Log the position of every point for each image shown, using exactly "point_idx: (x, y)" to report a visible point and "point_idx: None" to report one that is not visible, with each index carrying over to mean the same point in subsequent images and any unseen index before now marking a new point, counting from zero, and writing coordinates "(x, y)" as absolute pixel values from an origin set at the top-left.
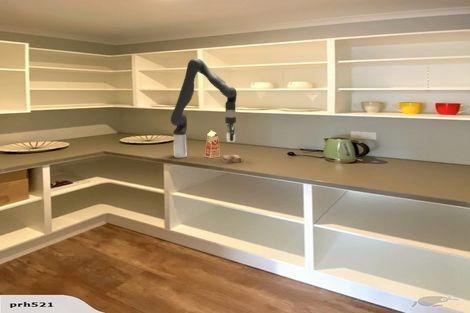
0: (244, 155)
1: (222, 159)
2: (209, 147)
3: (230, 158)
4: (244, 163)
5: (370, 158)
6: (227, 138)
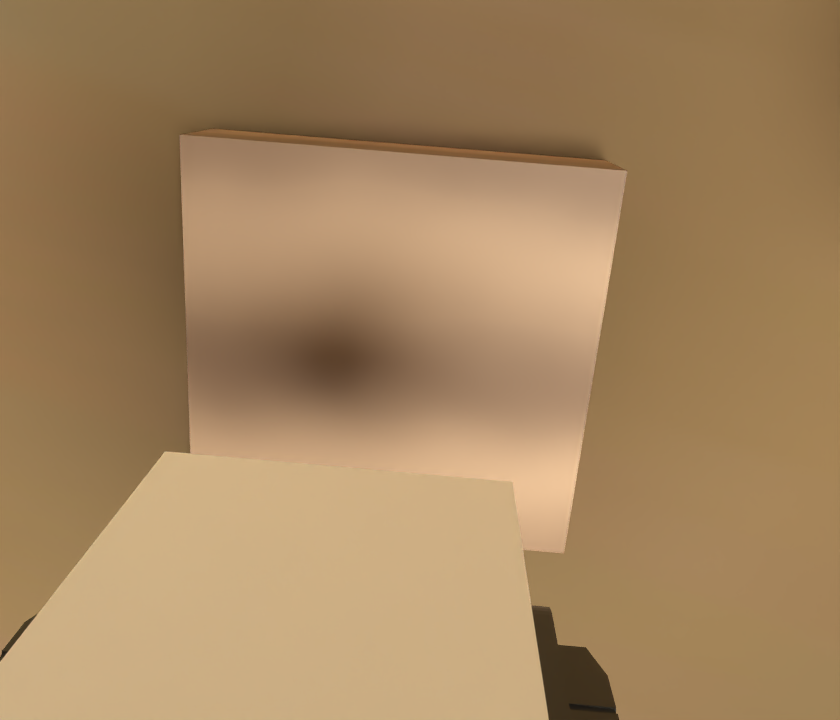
0: (802, 708)
1: (463, 151)
2: None
3: (185, 287)
4: (74, 485)
5: None
6: (284, 547)
